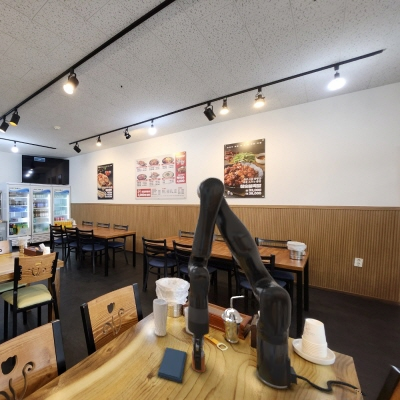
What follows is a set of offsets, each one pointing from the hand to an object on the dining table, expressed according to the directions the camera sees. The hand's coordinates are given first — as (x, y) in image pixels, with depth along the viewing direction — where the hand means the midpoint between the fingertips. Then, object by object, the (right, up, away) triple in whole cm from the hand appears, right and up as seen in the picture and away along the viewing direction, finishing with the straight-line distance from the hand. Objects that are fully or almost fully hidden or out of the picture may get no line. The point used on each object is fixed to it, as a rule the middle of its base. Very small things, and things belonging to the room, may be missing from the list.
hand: (198, 363), depth 84 cm
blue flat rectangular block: (-9, -2, +2) cm, 9 cm away
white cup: (+6, -2, +25) cm, 25 cm away
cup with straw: (+21, -2, +17) cm, 27 cm away
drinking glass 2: (-10, -2, +22) cm, 25 cm away
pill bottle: (0, -2, 0) cm, 2 cm away
